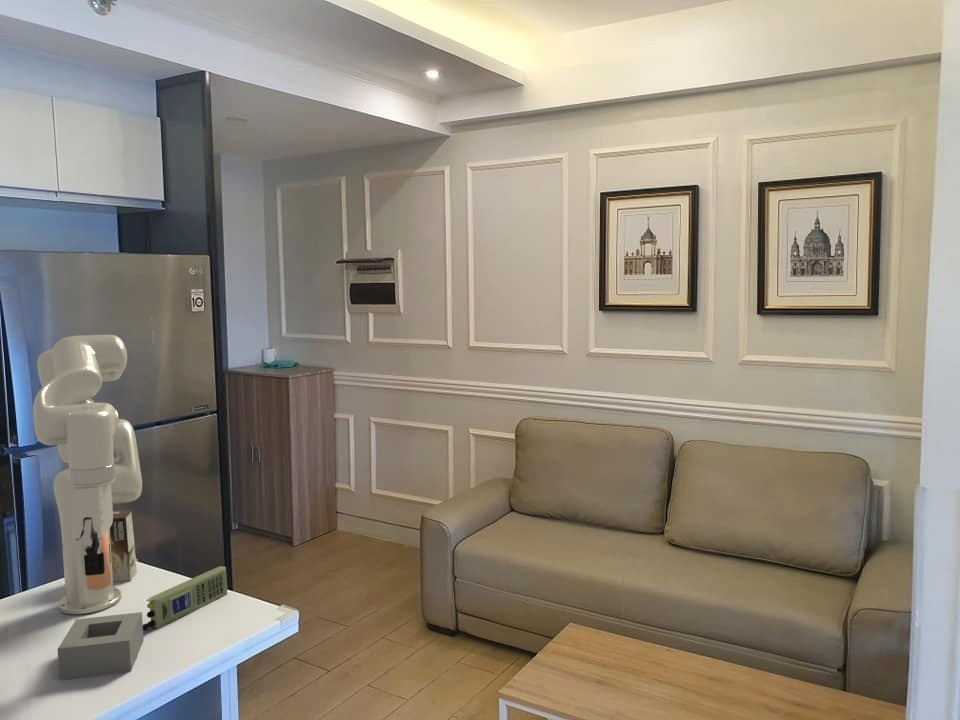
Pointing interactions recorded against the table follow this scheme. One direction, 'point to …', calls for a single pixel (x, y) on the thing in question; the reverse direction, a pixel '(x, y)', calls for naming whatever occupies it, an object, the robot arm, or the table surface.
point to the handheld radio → (186, 597)
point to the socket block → (100, 646)
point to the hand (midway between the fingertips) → (98, 568)
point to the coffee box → (123, 546)
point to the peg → (105, 579)
